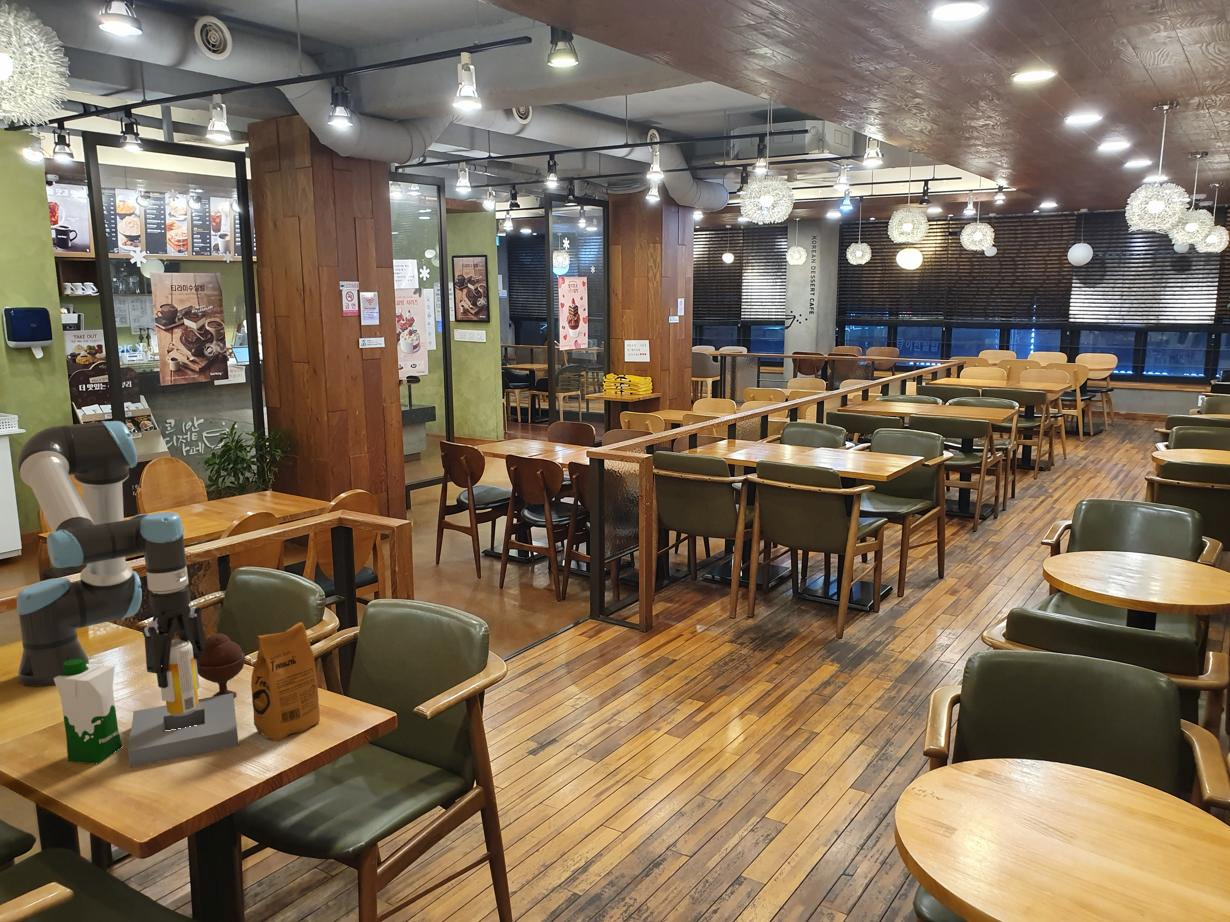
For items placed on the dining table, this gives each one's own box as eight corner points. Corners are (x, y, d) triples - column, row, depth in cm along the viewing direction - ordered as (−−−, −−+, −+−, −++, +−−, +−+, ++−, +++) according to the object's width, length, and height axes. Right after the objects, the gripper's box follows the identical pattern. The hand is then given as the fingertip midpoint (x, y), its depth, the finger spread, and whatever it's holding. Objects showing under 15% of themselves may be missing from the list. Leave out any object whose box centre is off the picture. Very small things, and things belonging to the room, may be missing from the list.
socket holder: (135, 726, 201) (133, 711, 200) (234, 707, 209) (233, 693, 208) (130, 767, 183) (127, 751, 182) (238, 745, 191) (237, 729, 190)
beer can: (187, 702, 199) (179, 636, 197) (205, 708, 196) (197, 641, 193) (161, 713, 194) (153, 645, 191) (179, 719, 191) (171, 650, 188)
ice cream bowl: (188, 706, 210) (181, 643, 208) (219, 686, 221) (213, 626, 218) (228, 709, 208) (222, 646, 205) (258, 689, 219) (252, 628, 216)
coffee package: (248, 731, 197) (238, 633, 193) (301, 711, 206) (293, 616, 203) (272, 745, 191) (262, 643, 187) (326, 723, 200) (318, 626, 196)
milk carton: (92, 743, 194) (80, 652, 190) (130, 746, 192) (118, 654, 188) (60, 763, 185) (46, 669, 182) (99, 767, 184) (86, 672, 180)
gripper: (145, 604, 180) (158, 715, 184) (217, 576, 198) (228, 678, 202) (116, 601, 183) (130, 710, 187) (190, 573, 200) (201, 674, 204)
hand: (181, 694), depth 194 cm, fingers closed on beer can, 6 cm apart
